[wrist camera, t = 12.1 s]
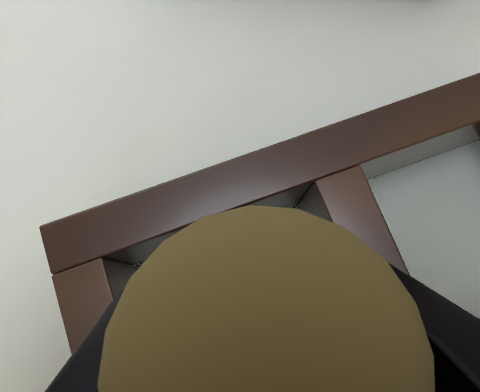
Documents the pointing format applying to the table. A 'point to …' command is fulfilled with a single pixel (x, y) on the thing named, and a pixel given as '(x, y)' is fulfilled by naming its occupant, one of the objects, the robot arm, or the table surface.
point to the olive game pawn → (265, 312)
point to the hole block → (258, 194)
